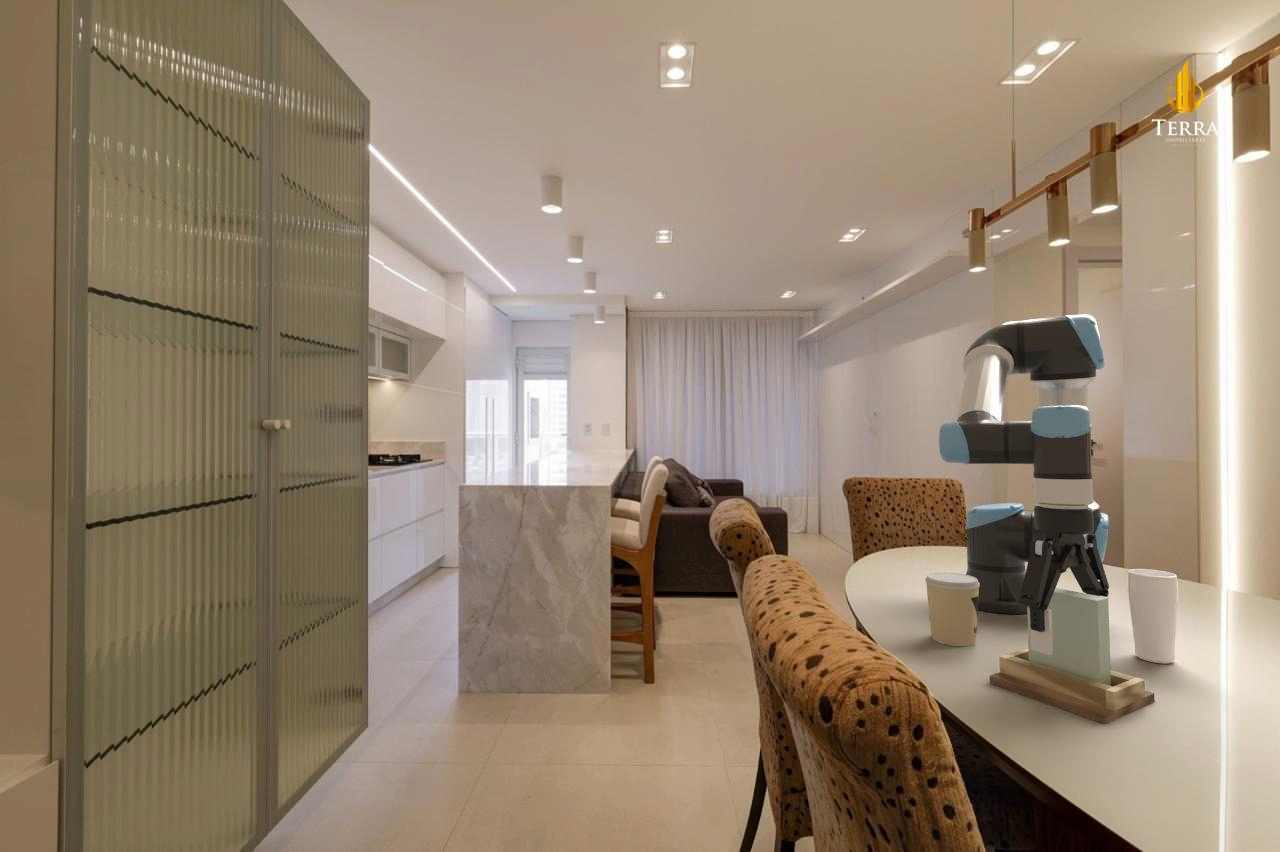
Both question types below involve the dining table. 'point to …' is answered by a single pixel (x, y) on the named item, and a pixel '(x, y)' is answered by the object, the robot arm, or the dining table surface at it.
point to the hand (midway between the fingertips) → (1067, 644)
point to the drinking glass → (1153, 613)
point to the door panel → (1078, 636)
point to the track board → (1066, 699)
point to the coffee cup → (953, 608)
